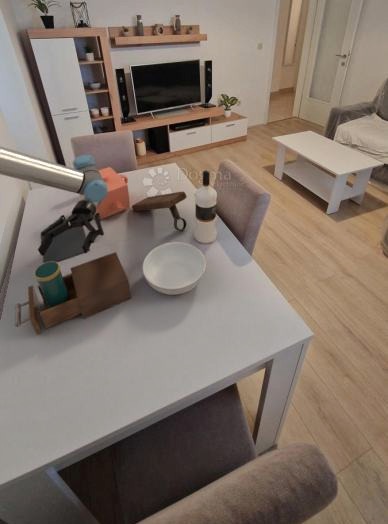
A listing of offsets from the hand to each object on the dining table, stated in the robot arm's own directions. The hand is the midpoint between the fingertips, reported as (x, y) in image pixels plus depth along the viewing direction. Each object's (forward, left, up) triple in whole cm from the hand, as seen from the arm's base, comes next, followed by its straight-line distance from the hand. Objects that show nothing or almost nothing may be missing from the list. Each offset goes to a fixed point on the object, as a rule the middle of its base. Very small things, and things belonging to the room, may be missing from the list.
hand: (62, 251), depth 83 cm
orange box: (-39, +22, -16) cm, 47 cm away
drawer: (+6, -7, -16) cm, 18 cm away
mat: (-26, 0, -16) cm, 31 cm away
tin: (+6, -5, -14) cm, 16 cm away
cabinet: (+6, +8, -16) cm, 19 cm away
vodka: (-1, +51, -17) cm, 54 cm away
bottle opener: (-22, +40, -17) cm, 48 cm away
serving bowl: (+12, +31, -17) cm, 37 cm away
